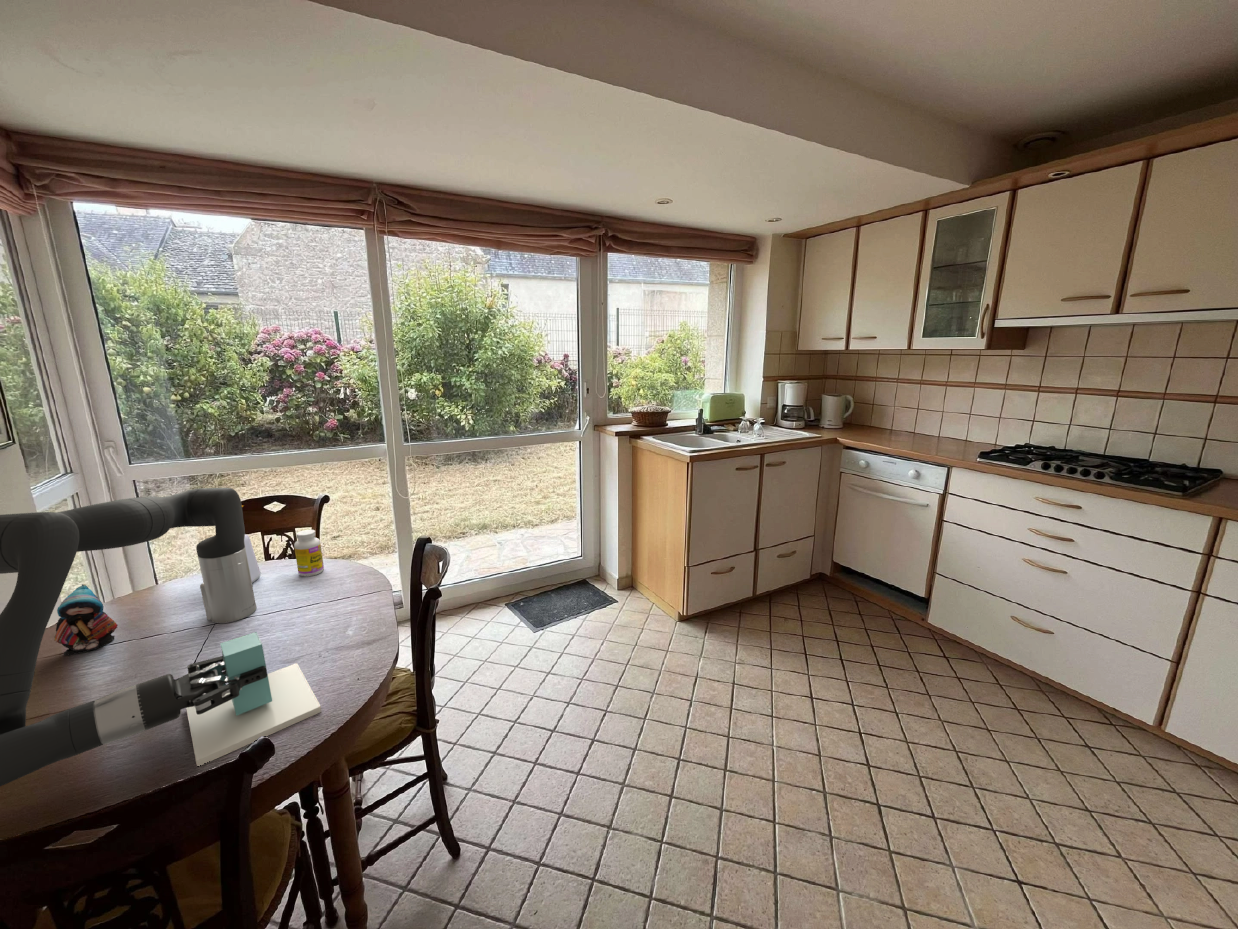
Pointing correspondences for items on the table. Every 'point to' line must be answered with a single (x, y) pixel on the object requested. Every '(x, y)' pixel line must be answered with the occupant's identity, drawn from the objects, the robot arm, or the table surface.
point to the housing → (241, 659)
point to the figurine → (83, 622)
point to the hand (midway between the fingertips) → (262, 663)
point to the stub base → (252, 716)
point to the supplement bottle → (308, 553)
